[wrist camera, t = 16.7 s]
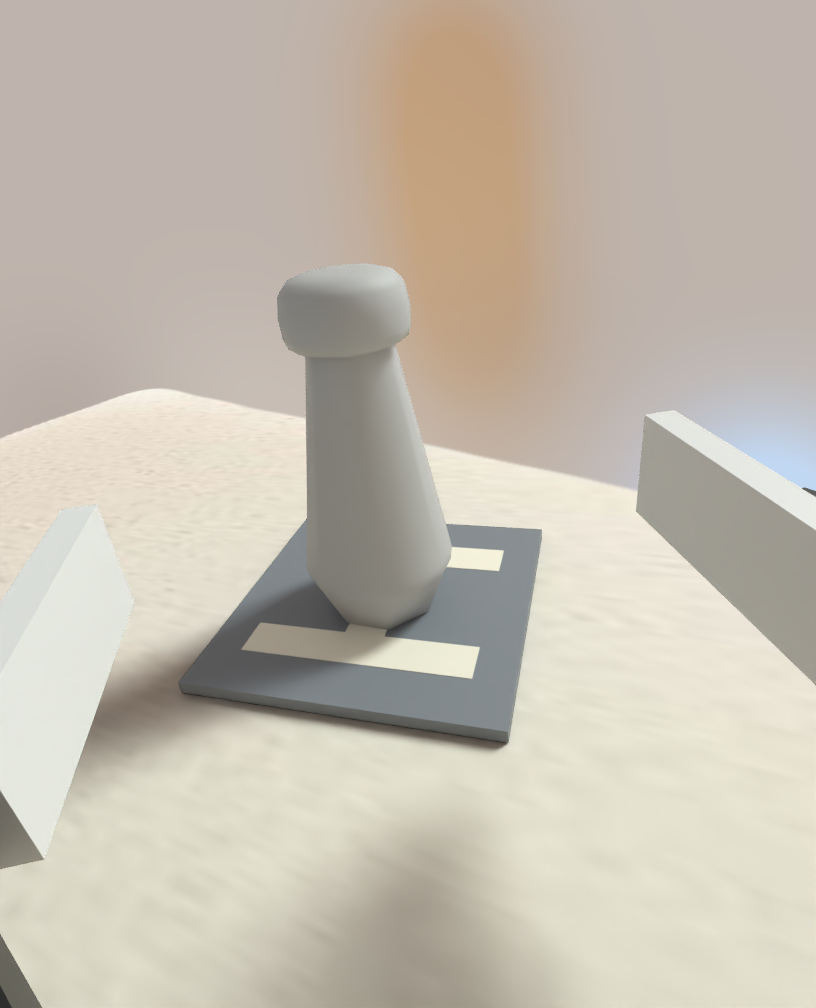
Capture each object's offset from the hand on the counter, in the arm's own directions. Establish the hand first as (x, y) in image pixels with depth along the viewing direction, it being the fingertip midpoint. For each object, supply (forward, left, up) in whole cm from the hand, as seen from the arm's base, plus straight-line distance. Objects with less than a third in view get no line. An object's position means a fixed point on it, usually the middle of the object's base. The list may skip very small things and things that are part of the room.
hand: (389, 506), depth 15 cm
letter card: (-3, +7, -9) cm, 12 cm away
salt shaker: (-3, +7, -9) cm, 12 cm away
